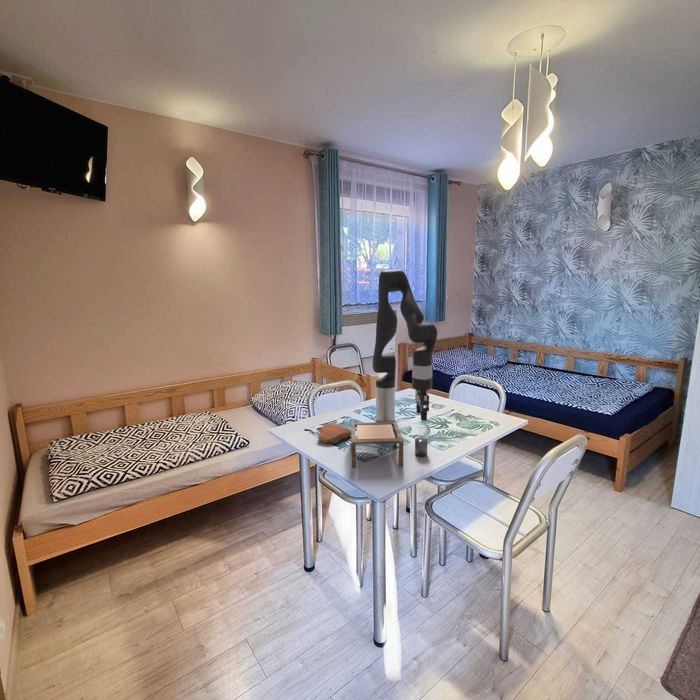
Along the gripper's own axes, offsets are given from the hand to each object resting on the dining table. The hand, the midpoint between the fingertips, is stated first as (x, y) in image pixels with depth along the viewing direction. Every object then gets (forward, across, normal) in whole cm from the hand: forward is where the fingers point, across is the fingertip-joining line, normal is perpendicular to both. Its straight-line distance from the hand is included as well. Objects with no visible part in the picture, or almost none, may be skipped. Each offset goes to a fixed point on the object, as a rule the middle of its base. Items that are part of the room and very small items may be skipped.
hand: (421, 416), depth 149 cm
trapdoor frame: (+16, 0, -18) cm, 24 cm away
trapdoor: (+7, 0, -18) cm, 19 cm away
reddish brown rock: (+16, -19, -36) cm, 44 cm away
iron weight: (+16, 0, 0) cm, 16 cm away
